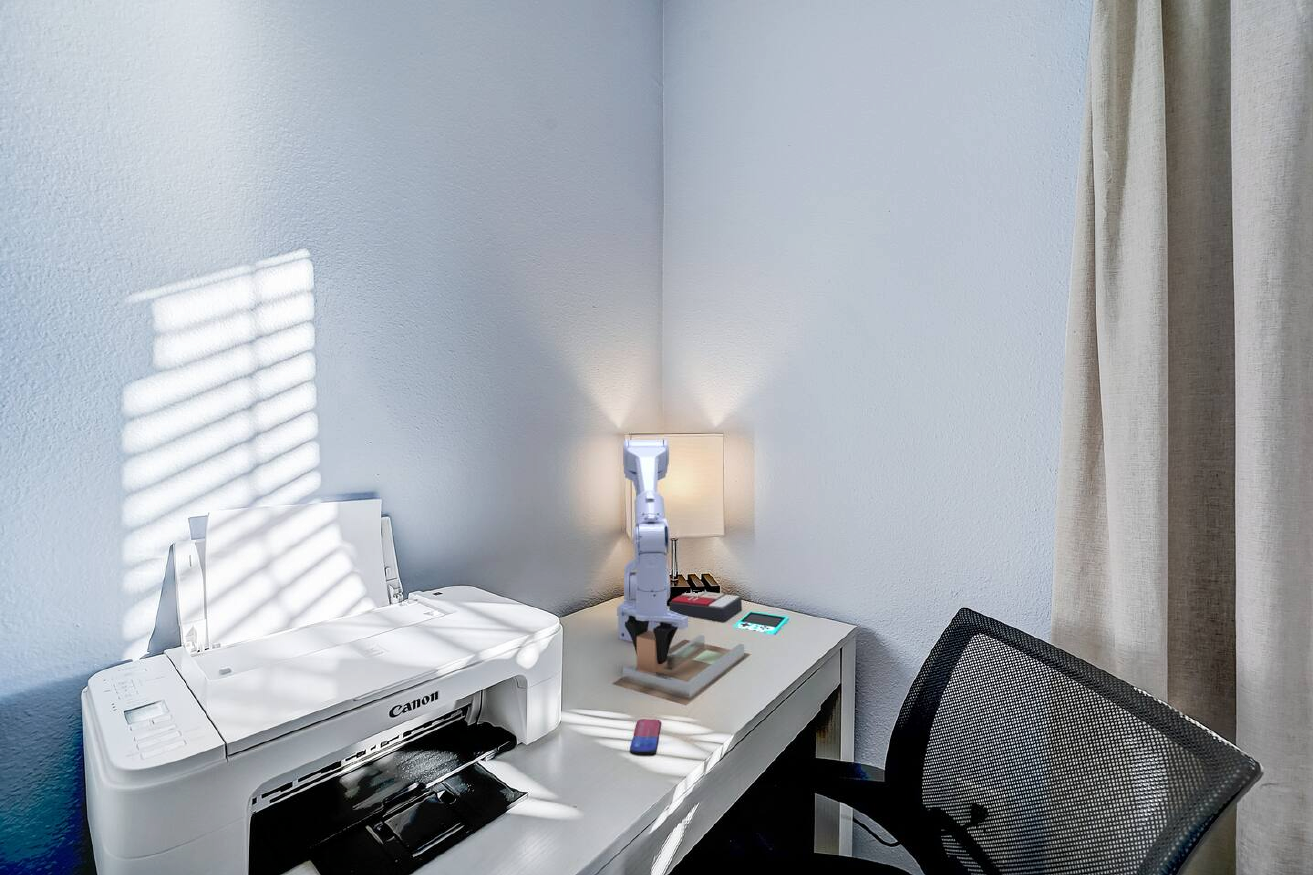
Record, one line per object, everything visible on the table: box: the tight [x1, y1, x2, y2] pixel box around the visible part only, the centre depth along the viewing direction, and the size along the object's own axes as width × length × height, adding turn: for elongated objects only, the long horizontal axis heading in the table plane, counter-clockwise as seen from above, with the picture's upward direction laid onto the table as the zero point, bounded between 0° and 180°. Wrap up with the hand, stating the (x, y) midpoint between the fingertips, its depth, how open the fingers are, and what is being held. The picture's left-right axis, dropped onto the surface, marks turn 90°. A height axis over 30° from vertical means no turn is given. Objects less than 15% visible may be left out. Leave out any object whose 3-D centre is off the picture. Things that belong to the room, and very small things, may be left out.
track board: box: [611, 638, 752, 706], centre depth 122 cm, size 16×26×1 cm, turn 147°
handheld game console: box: [732, 611, 790, 636], centre depth 148 cm, size 10×16×1 cm, turn 153°
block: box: [636, 630, 667, 673], centre depth 118 cm, size 4×4×6 cm
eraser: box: [629, 718, 662, 756], centre depth 97 cm, size 11×4×2 cm, turn 174°
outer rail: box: [622, 643, 745, 700], centre depth 121 cm, size 14×22×2 cm, turn 147°
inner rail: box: [664, 634, 705, 670], centre depth 128 cm, size 5×13×2 cm, turn 147°
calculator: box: [668, 591, 743, 624], centre depth 159 cm, size 11×4×15 cm
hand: (651, 659), depth 119 cm, fingers closed on block, 4 cm apart
